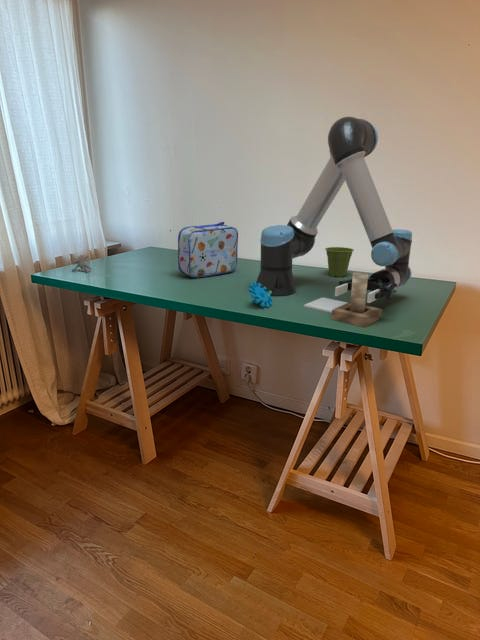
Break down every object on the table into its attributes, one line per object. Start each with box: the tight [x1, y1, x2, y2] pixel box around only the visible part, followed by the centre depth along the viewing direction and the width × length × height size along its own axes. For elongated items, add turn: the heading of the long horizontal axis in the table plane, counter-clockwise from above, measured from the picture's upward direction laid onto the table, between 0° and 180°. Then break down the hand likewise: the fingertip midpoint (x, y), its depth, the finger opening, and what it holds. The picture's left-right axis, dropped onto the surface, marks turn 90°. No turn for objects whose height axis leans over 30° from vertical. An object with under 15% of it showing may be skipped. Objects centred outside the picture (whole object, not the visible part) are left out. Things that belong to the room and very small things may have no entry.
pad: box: [303, 296, 348, 314], centre depth 150 cm, size 12×12×1 cm
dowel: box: [349, 272, 369, 314], centre depth 136 cm, size 4×4×14 cm
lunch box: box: [177, 221, 239, 278], centre depth 190 cm, size 28×10×22 cm, turn 129°
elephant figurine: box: [71, 255, 93, 274], centre depth 196 cm, size 10×6×9 cm
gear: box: [248, 281, 274, 308], centre depth 151 cm, size 11×6×10 cm
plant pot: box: [324, 246, 354, 278], centre depth 191 cm, size 12×12×11 cm
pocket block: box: [330, 301, 383, 328], centre depth 137 cm, size 11×11×3 cm
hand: (352, 295), depth 132 cm, fingers open, 10 cm apart
